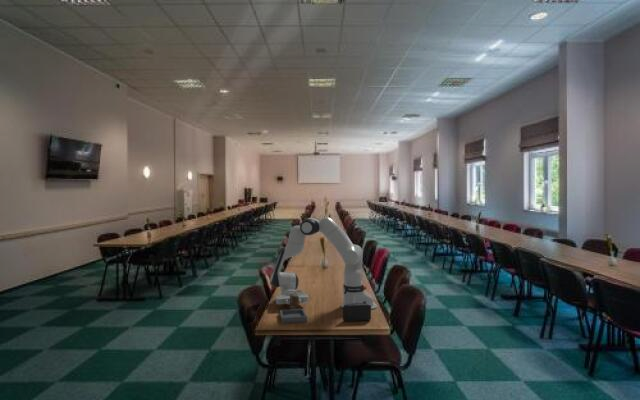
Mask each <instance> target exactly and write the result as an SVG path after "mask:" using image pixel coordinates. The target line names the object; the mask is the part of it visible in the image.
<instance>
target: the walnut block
mask: <svg viewBox="0 0 640 400" xmlns="http://www.w3.org/2000/svg"><path fill="white" fill-rule="evenodd" d="M290 301H291V304H290V305H289V310H291V309H300V308H299V306H300V304H299V296H298V294H290Z"/></svg>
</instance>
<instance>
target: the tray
mask: <svg viewBox="0 0 640 400" xmlns="http://www.w3.org/2000/svg"><path fill="white" fill-rule="evenodd" d="M279 316H280V321H281V324H297V323H308V316H307V314H306V311H305V309H304V308H299V309H291V310H290V309H280V310H279Z"/></svg>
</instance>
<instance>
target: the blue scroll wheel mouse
mask: <svg viewBox="0 0 640 400" xmlns="http://www.w3.org/2000/svg"><path fill="white" fill-rule="evenodd" d="M371 319H372V309H371V306H370V305H369V304H364V303H352V304H346V305H344V306H343V307H342V321H343V322H366V321H367V322H368V321H370V320H371Z"/></svg>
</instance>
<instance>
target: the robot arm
mask: <svg viewBox="0 0 640 400" xmlns="http://www.w3.org/2000/svg"><path fill="white" fill-rule="evenodd" d="M317 233H321V234H322V235H323V236H324V237H325V238H326V239H327V241H329V242H330V243H331V245H333V247H334V248H335V250H336V251H337V252H338V254H339V256H340V257H341V259H342V260H343V262H344V263H345V264H344V271H343V273H344V274H343V277H344V278H343V287H342V290H343V291H342V293H343V295H342V296H343V297H342V302H341V308H343V306H344V305H346V304H352V303H364V304H369V305H370V306H371V310H373V309H374V310H375V309H377V308H378V306H377V304H376V303H375V302H374V299H373V297H372V296H371V294H370V293H368V292H367V291H366V290H367V286H365V285H364V284H362V269H363V259H364V257H363V256H364V251H363V248H362V247H361V246H360V245H358V244H354V243H353V241H351V239H350V237H349V236H348V234H347V233H346V232H345V231H344V230H343V229H342V228H341V227H340V225H339V224H338V223H337V222H335V221H334V220H333V219H332V218H331V217H329V216H324V217H322V218H321V219H319V218H317V217H308V218H305V219H303V220H302V221H301V223H300V224H299V225H294V226H292V227H291V229H290V232H289V234H288V239H287V243H286V245H285V247H283V248H281V249H280V251H279V253H278V257H277V259H276V262H275V266H274V268H273V270H272V273H271V275H270V278H269V283H270V284H271V286H272V287H274V288H280V295H276V297H274V301H275V303H276V305H288V306H290V304H291V301H290V294H298V296H299V305H300V304H301V303H308V302H309V295H308V294H307V293H305V292H304V291H303V290H297V289H298V287H299V277H298V275H297V274H296V273H294V272H284V271H281V270H282V267H283V265H284V262H285V261H286V260H287V259H289V258H292V257H296V256H298V255H300V254H301V253H302V252H303V251H304V248H305V242H306V237H307V236H314V235H315V234H317Z"/></svg>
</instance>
